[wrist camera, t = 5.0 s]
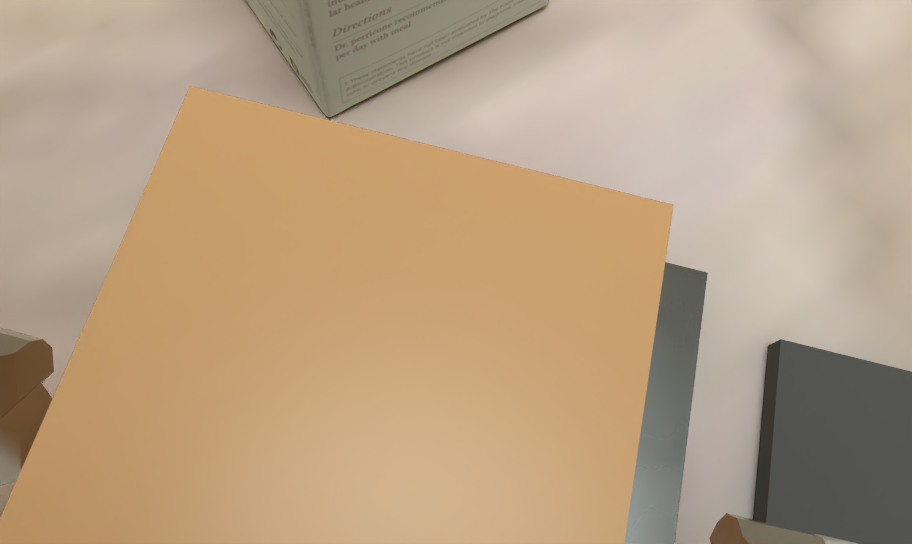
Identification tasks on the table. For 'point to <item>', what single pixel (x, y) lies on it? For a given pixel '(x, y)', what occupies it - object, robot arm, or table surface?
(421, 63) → the supplement box
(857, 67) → the table surface
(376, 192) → the tan rectangular pillar
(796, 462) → the mat
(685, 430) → the post stand
